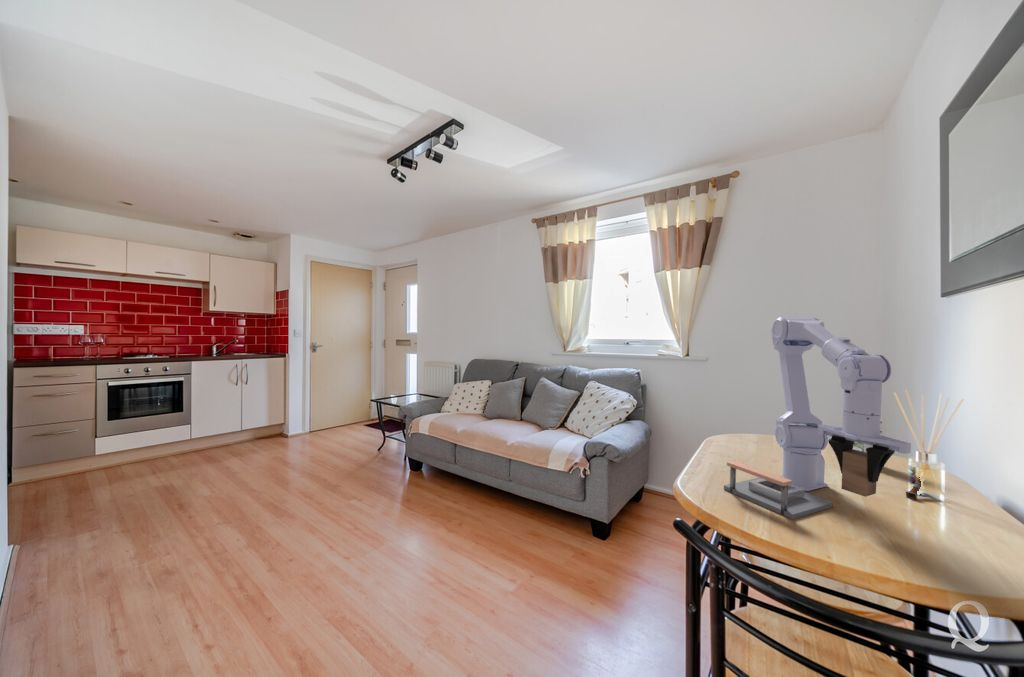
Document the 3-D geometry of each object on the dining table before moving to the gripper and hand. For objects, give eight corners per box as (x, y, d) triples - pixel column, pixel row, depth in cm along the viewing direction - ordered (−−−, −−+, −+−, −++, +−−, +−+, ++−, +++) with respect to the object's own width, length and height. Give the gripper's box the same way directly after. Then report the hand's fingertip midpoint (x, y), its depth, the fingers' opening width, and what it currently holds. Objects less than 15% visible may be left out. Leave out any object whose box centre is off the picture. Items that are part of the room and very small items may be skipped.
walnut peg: (851, 485, 80) (853, 449, 80) (875, 493, 77) (877, 455, 77) (841, 488, 79) (842, 451, 79) (865, 496, 75) (866, 457, 75)
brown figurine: (929, 490, 94) (927, 475, 93) (918, 509, 90) (916, 493, 89) (919, 487, 95) (917, 472, 94) (907, 506, 92) (905, 490, 91)
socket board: (762, 480, 100) (763, 452, 100) (832, 506, 85) (834, 474, 85) (721, 489, 94) (721, 460, 94) (789, 520, 79) (790, 485, 79)
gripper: (810, 406, 82) (808, 467, 83) (898, 422, 69) (895, 494, 70) (828, 404, 85) (826, 463, 86) (917, 419, 72) (914, 488, 72)
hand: (858, 477), depth 78 cm, fingers closed on walnut peg, 4 cm apart
